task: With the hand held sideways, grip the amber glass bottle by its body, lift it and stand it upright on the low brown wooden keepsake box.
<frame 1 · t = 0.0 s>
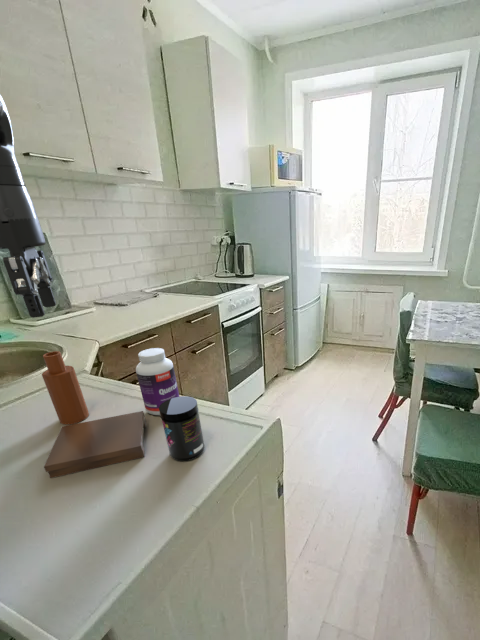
hand: (44, 311, 67), 26 cm above the countertop, tool pointing down, fingers open, 8 cm apart
brown wooden keepsake box: (103, 447, 71), on the countertop
bottle: (74, 417, 82), on the countertop
pill bottle: (164, 409, 85), on the countertop
supplement container: (187, 452, 68), on the countertop
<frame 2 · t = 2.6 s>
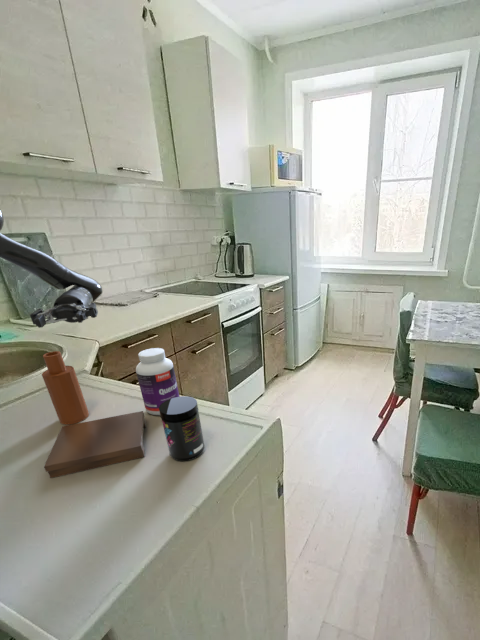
hand: (59, 321, 84), 20 cm above the countertop, tool horizontal, fingers open, 8 cm apart
nothing on the countertop moved.
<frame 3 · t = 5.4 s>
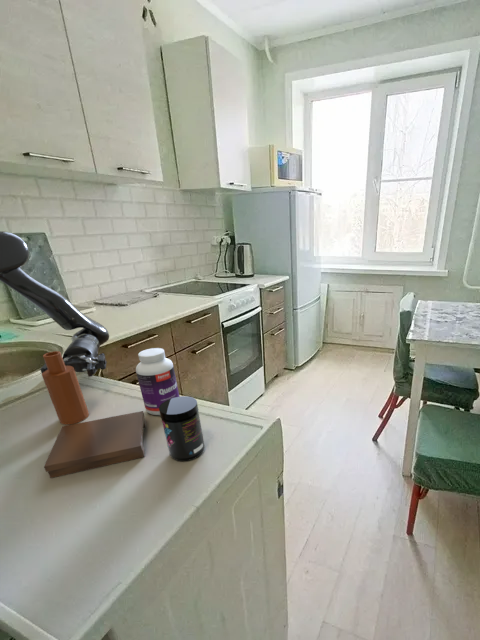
hand: (69, 376, 85), 8 cm above the countertop, tool horizontal, fingers open, 8 cm apart
nothing on the countertop moved.
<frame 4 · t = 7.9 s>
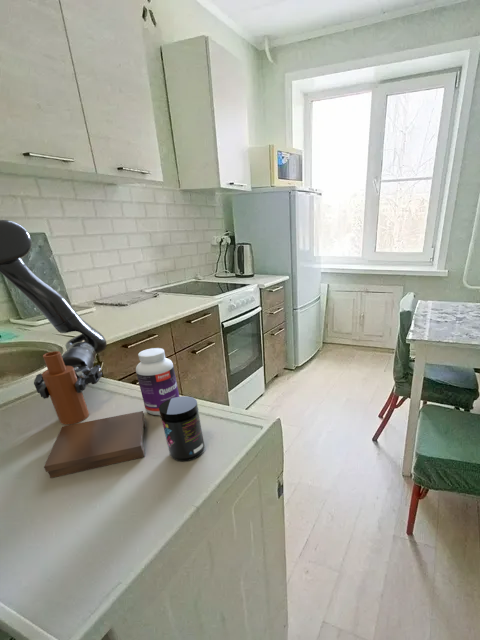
hand: (61, 391, 77), 8 cm above the countertop, tool horizontal, fingers closed on bottle, 6 cm apart
bottle: (74, 417, 82), on the countertop, touching gripper
everything else where it was.
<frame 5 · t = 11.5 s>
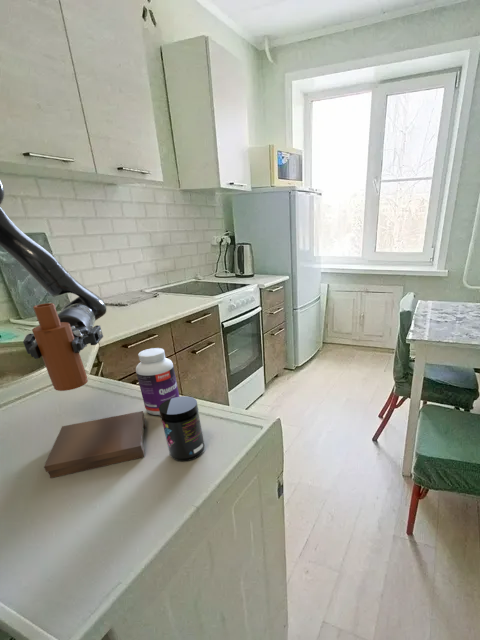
hand: (55, 350, 65), 20 cm above the countertop, tool horizontal, fingers closed on bottle, 6 cm apart
bottle: (71, 384, 71), point 12 cm above the countertop, touching gripper
everything else where it was.
when the fingers open (11 cm above the countertop, at t = 15.3 s): bottle stays where it is, resting on brown wooden keepsake box.
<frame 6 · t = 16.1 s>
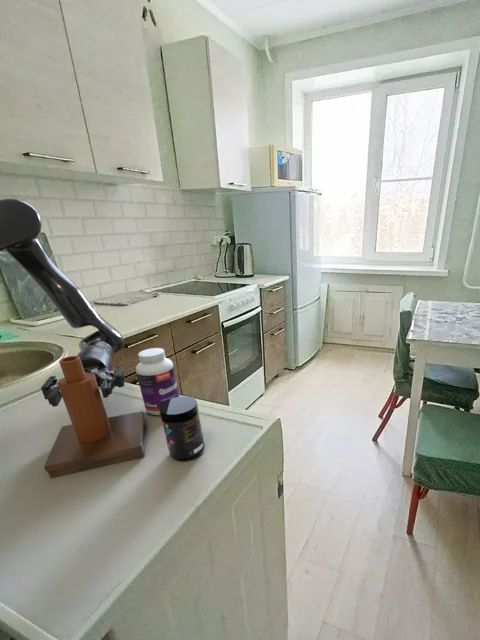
hand: (79, 397, 65), 12 cm above the countertop, tool horizontal, fingers open, 8 cm apart
bottle: (94, 433, 70), point 3 cm above the countertop, touching brown wooden keepsake box
everything else where it was.
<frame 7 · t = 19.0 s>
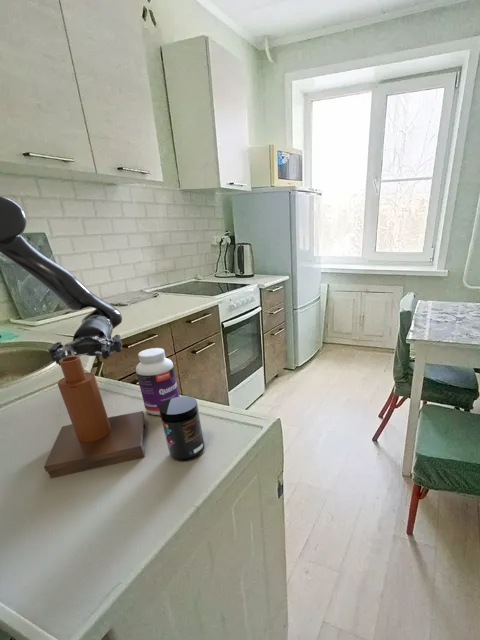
hand: (82, 357, 74), 15 cm above the countertop, tool horizontal, fingers open, 8 cm apart
nothing on the countertop moved.
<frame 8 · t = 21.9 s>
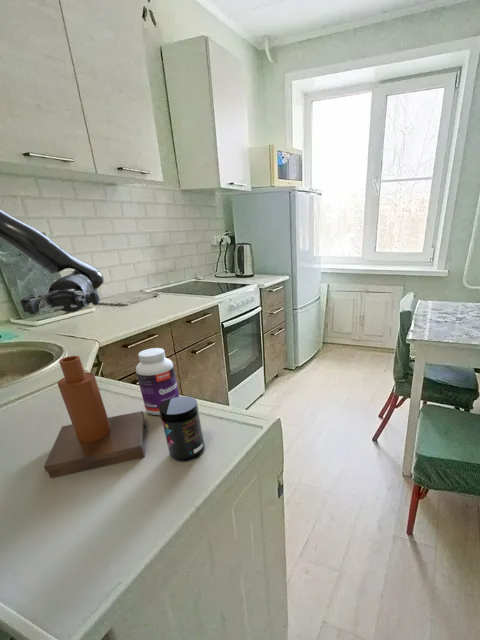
hand: (54, 307, 71), 26 cm above the countertop, tool horizontal, fingers open, 8 cm apart
nothing on the countertop moved.
at the end: bottle inside the target area on the brown wooden keepsake box (1.5 cm from its centre), point 3.0 cm above the brown wooden keepsake box's base; bottle tilted 0°; the gripper is holding nothing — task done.
